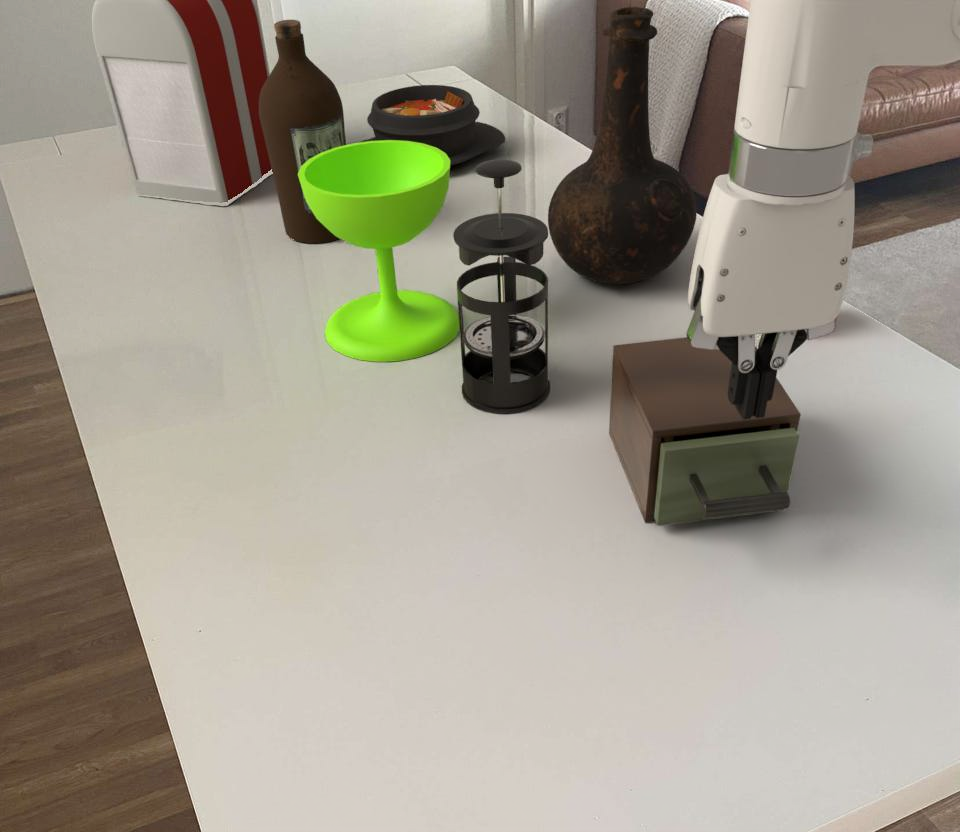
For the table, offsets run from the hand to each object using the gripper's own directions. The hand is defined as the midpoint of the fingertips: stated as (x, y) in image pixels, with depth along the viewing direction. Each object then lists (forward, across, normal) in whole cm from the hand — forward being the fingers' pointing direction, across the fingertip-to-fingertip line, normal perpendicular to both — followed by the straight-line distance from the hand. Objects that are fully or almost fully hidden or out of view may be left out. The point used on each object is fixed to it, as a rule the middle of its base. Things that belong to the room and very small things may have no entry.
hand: (747, 408), depth 78 cm
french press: (+14, +15, -30) cm, 36 cm away
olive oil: (+14, +34, -76) cm, 84 cm away
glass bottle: (+13, -3, -55) cm, 56 cm away
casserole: (+14, +17, -99) cm, 101 cm away
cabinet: (+13, 0, -12) cm, 18 cm away
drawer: (+13, 0, -7) cm, 14 cm away
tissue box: (+14, +50, -99) cm, 111 cm away
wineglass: (+14, +26, -46) cm, 54 cm away
